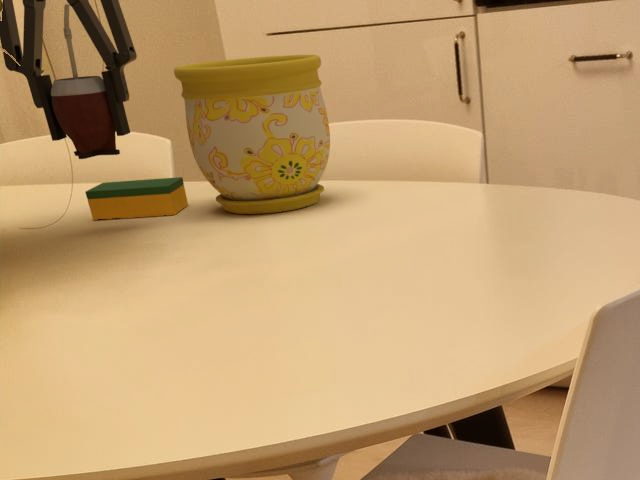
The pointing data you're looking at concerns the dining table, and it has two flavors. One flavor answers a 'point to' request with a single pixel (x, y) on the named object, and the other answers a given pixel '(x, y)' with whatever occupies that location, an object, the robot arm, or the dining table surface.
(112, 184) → the sponge
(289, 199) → the flowerpot
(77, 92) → the mate gourd
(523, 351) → the dining table surface
